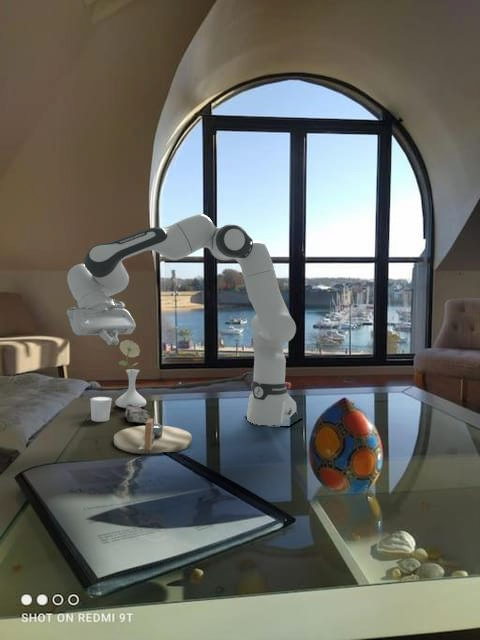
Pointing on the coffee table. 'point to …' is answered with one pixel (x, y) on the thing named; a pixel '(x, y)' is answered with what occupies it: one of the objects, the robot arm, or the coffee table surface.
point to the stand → (167, 442)
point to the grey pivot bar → (152, 432)
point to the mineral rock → (136, 414)
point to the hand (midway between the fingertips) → (114, 343)
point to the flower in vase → (130, 377)
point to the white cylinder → (100, 408)
